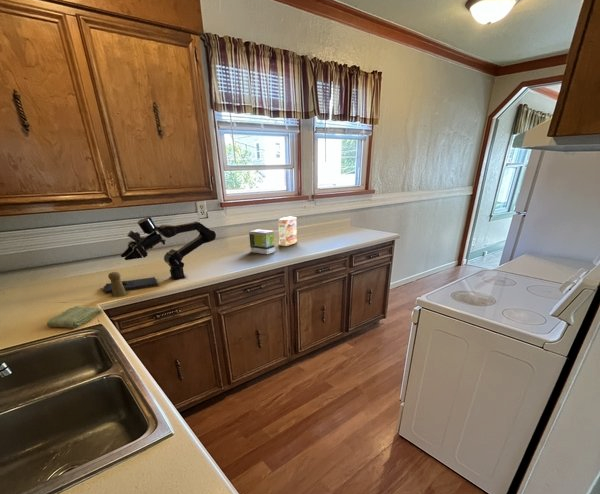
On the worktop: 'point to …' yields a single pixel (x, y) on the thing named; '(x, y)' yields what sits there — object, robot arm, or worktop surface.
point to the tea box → (262, 241)
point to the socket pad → (133, 284)
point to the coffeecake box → (287, 231)
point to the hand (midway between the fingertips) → (122, 257)
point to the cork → (116, 284)
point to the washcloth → (73, 317)
